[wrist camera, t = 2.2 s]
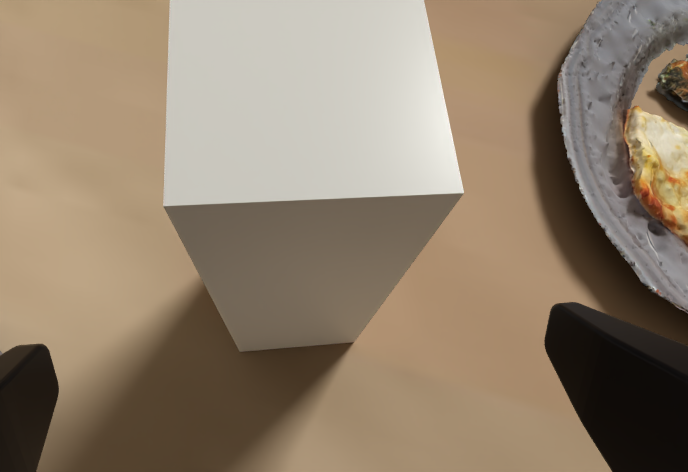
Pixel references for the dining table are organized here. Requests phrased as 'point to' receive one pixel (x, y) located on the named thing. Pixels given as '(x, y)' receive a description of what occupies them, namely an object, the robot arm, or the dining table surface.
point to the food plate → (631, 137)
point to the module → (304, 159)
